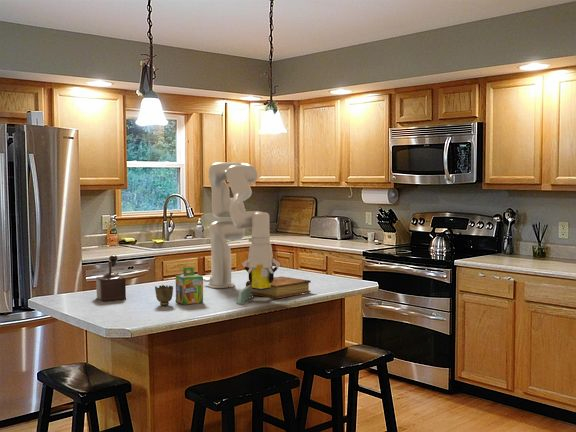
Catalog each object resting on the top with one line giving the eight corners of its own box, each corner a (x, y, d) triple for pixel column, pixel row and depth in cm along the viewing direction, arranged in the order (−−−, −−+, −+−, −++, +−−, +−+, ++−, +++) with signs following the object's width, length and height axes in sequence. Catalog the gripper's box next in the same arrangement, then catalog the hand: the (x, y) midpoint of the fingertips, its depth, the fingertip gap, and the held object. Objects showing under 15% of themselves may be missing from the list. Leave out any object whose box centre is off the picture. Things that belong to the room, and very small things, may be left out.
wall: (236, 304, 267) (236, 292, 267) (246, 296, 284) (246, 285, 283) (243, 304, 266) (243, 292, 266) (253, 296, 283) (253, 285, 283)
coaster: (248, 302, 271) (248, 300, 270) (253, 298, 279) (253, 296, 279) (269, 302, 269) (269, 301, 269) (273, 298, 278) (273, 297, 278)
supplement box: (261, 287, 278) (260, 262, 277) (271, 288, 274) (270, 263, 273) (251, 289, 273) (251, 263, 273) (261, 290, 269) (260, 264, 269)
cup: (165, 302, 270) (165, 284, 269) (177, 305, 265) (177, 286, 264) (151, 305, 264) (151, 286, 263) (163, 308, 259) (162, 288, 259)
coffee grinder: (128, 299, 278) (127, 258, 277) (102, 302, 272) (101, 259, 271) (117, 293, 291) (116, 254, 290) (92, 296, 286) (92, 256, 284)
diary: (280, 288, 305) (280, 276, 305) (310, 293, 292) (310, 280, 292) (245, 293, 288) (245, 280, 287) (276, 298, 275) (276, 285, 275)
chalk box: (183, 305, 264) (183, 270, 263) (174, 301, 272) (174, 267, 271) (204, 303, 269) (203, 268, 268) (194, 299, 277) (194, 265, 276)
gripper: (238, 242, 270) (239, 283, 271) (279, 242, 267) (279, 284, 268) (243, 240, 278) (243, 280, 279) (282, 240, 275) (282, 281, 276)
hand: (261, 282), depth 274 cm, fingers closed on supplement box, 8 cm apart
